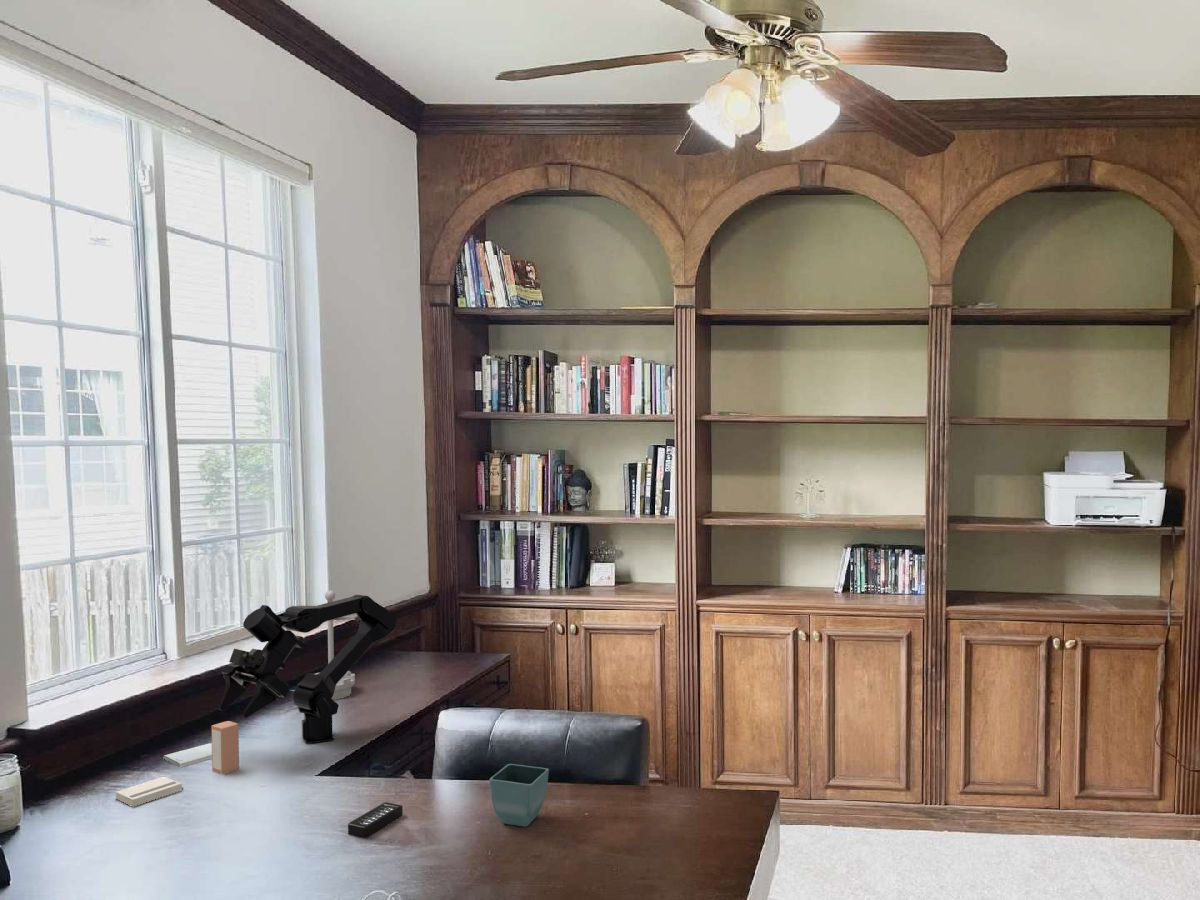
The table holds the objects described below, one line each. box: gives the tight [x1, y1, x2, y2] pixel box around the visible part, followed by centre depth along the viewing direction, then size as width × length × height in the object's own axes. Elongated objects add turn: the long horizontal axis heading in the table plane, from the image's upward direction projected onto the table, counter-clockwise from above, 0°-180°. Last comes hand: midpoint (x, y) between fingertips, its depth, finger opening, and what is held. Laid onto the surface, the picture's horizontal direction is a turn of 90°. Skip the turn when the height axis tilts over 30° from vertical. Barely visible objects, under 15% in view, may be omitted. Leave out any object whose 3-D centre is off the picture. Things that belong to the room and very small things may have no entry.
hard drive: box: [162, 742, 212, 768], centre depth 205 cm, size 2×8×12 cm
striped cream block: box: [115, 776, 184, 808], centre depth 183 cm, size 11×7×2 cm, turn 144°
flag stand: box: [314, 589, 356, 701], centre depth 254 cm, size 13×13×30 cm
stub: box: [210, 720, 240, 775], centre depth 196 cm, size 4×4×10 cm
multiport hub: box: [347, 801, 404, 839], centre depth 167 cm, size 4×11×2 cm, turn 155°
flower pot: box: [488, 763, 550, 827], centre depth 168 cm, size 9×9×9 cm
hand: (232, 713), depth 198 cm, fingers open, 9 cm apart
